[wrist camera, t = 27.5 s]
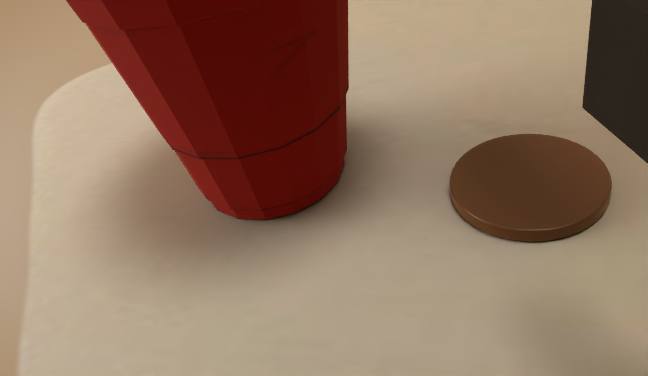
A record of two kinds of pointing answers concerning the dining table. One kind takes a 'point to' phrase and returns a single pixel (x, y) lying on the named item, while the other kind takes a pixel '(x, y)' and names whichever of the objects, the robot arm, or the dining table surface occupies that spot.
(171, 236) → the dining table surface
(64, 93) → the dining table surface
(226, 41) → the plastic cup
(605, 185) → the brown round coaster
